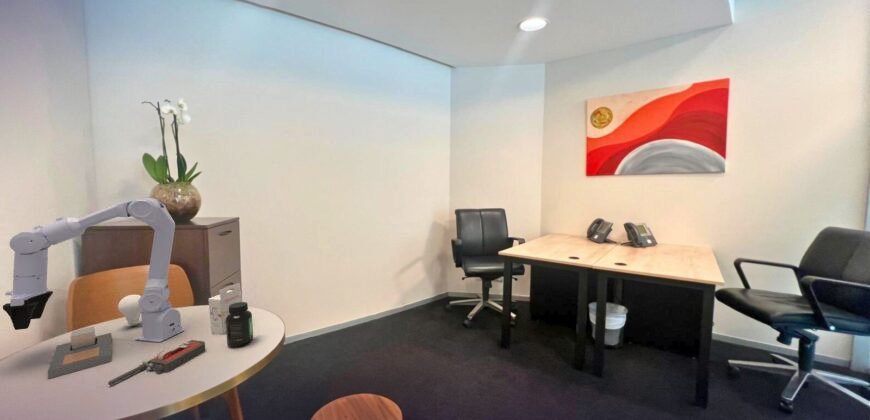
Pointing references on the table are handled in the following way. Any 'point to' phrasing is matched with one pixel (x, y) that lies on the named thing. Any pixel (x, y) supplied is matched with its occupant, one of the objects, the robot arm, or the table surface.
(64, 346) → the hole plate
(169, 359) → the walkie-talkie
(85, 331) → the square peg
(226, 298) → the ink cartridge box
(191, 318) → the table surface
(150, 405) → the table surface
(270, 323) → the table surface
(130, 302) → the light bulb
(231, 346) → the supplement bottle
